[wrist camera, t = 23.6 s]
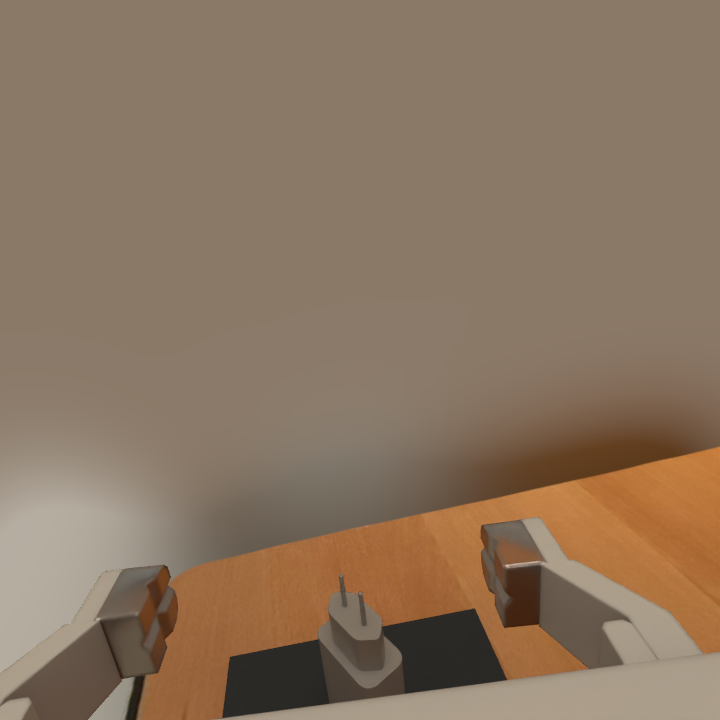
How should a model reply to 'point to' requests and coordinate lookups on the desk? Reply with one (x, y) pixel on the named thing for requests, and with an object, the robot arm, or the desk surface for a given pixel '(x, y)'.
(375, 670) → the power adapter
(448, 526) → the desk surface
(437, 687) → the desk mat
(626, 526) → the desk surface
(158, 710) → the desk surface
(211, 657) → the desk surface
